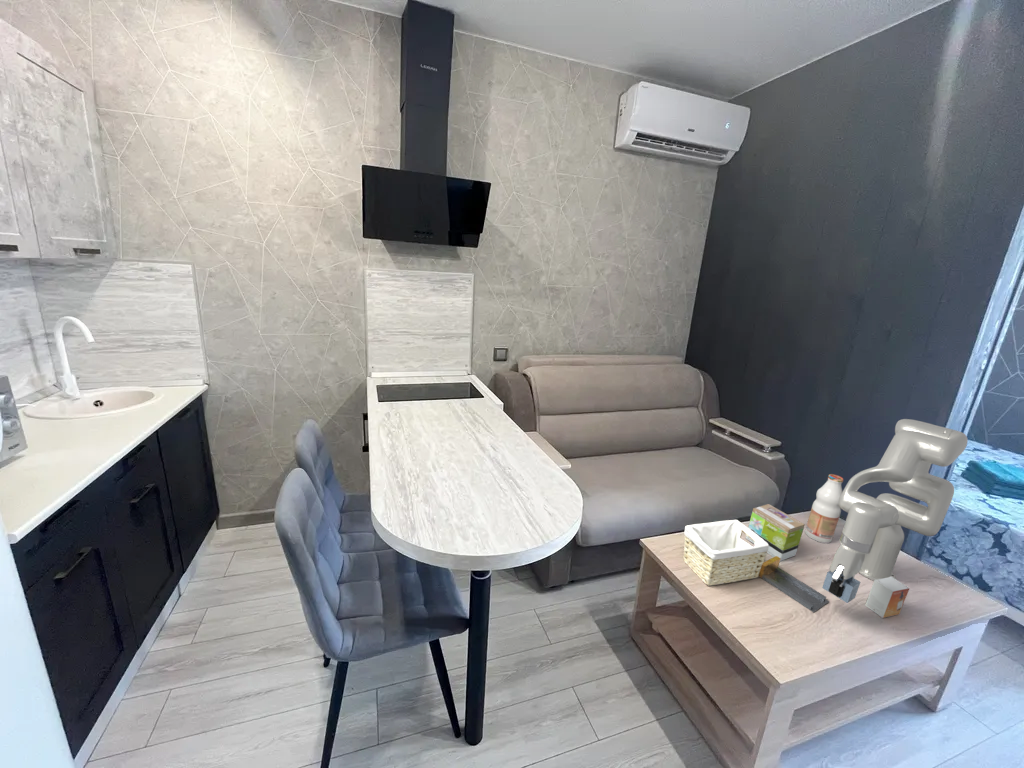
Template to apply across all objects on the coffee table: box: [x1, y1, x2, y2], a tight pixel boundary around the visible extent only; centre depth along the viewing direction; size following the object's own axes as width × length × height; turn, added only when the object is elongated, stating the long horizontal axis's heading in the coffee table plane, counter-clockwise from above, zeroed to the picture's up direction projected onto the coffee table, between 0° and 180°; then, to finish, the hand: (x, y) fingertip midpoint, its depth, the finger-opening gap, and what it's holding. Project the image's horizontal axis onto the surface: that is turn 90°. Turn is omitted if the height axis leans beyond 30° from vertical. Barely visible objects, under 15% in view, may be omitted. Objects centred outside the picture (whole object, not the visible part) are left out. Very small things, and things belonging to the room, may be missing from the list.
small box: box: [865, 577, 910, 619], centre depth 137 cm, size 8×6×10 cm
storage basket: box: [682, 519, 769, 586], centre depth 151 cm, size 24×16×15 cm
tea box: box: [745, 503, 806, 562], centre depth 165 cm, size 15×10×15 cm
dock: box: [758, 556, 830, 613], centre depth 145 cm, size 10×18×5 cm, turn 30°
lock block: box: [821, 570, 861, 604], centre depth 132 cm, size 5×7×6 cm
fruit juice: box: [804, 473, 844, 544], centre depth 173 cm, size 9×9×28 cm
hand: (838, 590), depth 133 cm, fingers closed on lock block, 5 cm apart
